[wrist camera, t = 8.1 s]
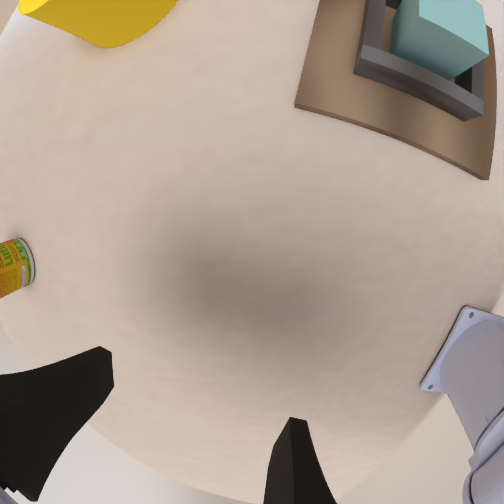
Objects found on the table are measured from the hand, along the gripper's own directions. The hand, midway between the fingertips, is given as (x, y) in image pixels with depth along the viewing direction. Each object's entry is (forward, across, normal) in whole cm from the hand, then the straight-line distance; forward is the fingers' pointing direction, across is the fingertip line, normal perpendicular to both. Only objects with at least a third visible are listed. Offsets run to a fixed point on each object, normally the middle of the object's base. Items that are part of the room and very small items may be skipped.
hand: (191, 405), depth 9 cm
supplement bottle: (+11, +25, +5) cm, 28 cm away
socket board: (+10, -7, -20) cm, 24 cm away
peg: (+9, -7, -20) cm, 23 cm away
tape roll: (+11, +16, -22) cm, 29 cm away
